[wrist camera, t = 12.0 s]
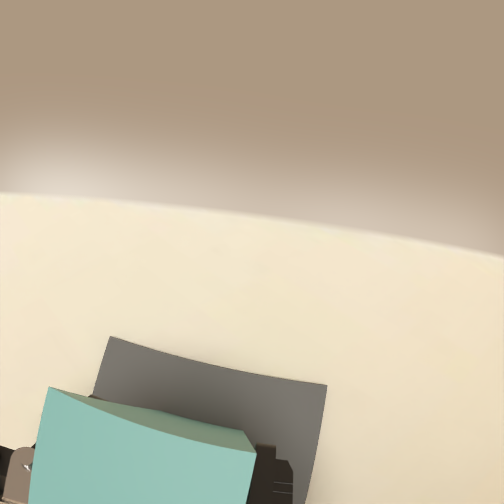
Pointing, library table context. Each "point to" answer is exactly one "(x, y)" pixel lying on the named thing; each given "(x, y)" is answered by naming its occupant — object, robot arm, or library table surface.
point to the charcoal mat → (220, 401)
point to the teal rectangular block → (134, 456)
